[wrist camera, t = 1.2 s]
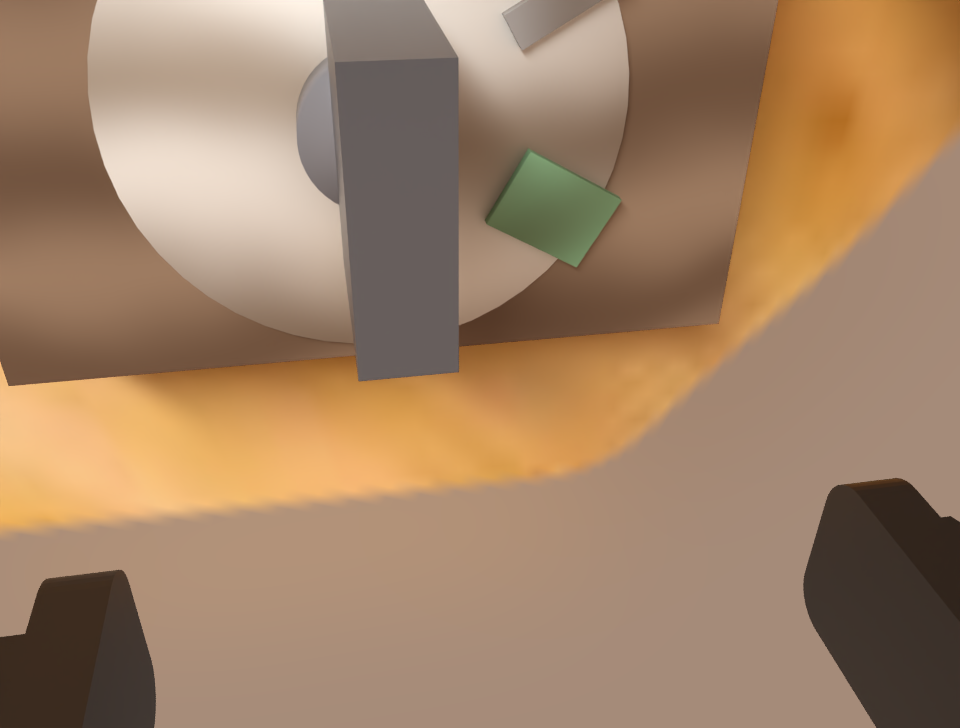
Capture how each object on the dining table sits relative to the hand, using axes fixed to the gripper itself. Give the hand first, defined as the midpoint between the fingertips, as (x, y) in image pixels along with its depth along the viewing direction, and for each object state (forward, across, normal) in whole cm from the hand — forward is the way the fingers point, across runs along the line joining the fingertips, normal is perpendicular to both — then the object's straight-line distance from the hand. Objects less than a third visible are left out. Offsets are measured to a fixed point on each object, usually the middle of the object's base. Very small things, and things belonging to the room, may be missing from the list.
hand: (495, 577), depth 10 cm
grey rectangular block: (+16, 0, +2) cm, 16 cm away
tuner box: (+22, 0, 0) cm, 22 cm away
